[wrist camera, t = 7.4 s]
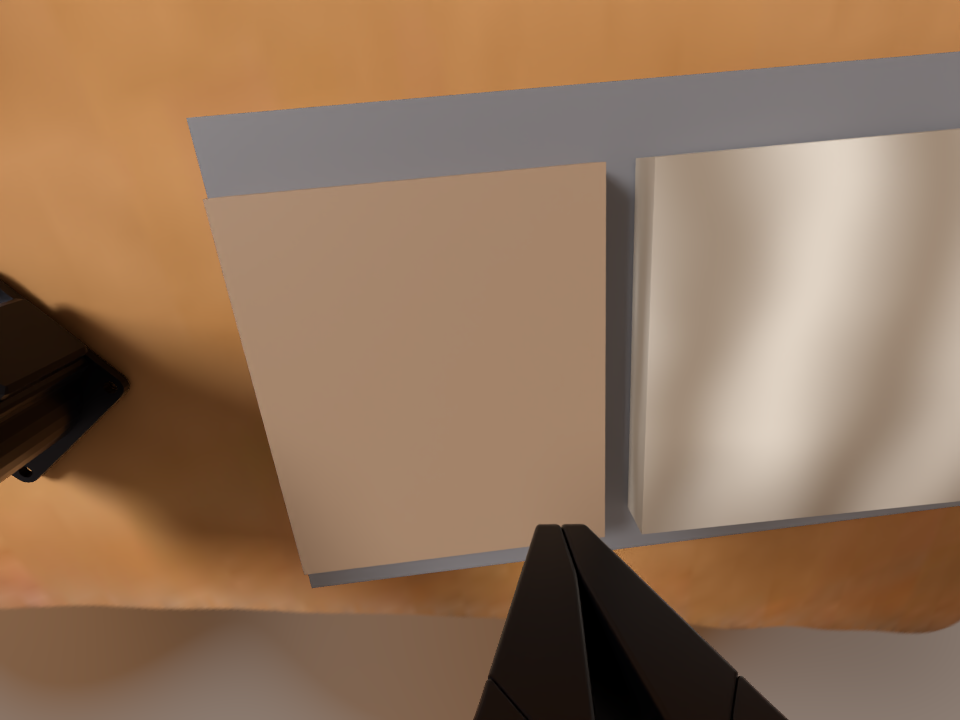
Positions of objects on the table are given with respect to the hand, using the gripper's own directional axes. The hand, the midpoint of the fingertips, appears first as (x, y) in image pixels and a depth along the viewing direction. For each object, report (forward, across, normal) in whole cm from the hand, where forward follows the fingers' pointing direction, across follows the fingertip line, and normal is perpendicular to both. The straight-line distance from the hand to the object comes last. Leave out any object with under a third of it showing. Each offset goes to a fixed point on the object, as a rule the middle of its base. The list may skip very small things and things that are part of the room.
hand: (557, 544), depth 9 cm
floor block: (+13, -5, 0) cm, 14 cm away
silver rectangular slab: (+9, -11, -1) cm, 14 cm away
